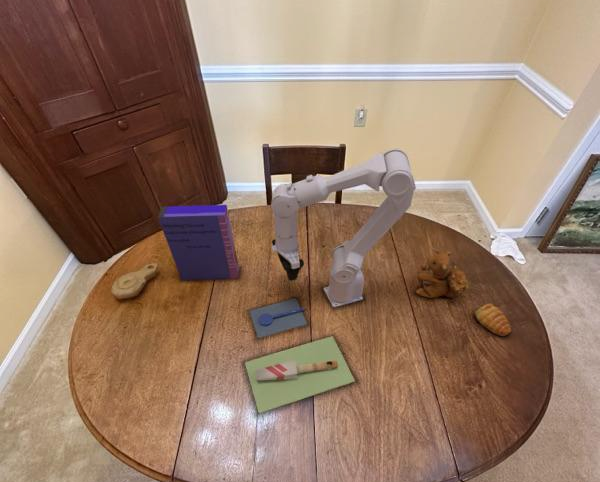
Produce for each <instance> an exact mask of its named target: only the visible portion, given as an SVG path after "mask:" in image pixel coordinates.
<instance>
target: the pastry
mask: <svg viewBox="0 0 600 482" xmlns="http://www.w3.org/2000/svg"><path fill="white" fill-rule="evenodd" d="M474 315H475V318H476V320H477V322H479V324H480V325H482V327H485V328H486V329H487V330H489V332H490V333H493V334H495V335H498V336H499V337H505V336H507V335H509V334H510V333H511V332H512V327H511V325H510V322H509V321H508V317H507V316H505V314H504V312H503V311H501V310H500V308H499V307H498V306H494V305H493V304H492V303H487V304H484V305H482V306H481V307H479V308H478V309H477V310H476V311H475V312H474Z"/></svg>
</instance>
